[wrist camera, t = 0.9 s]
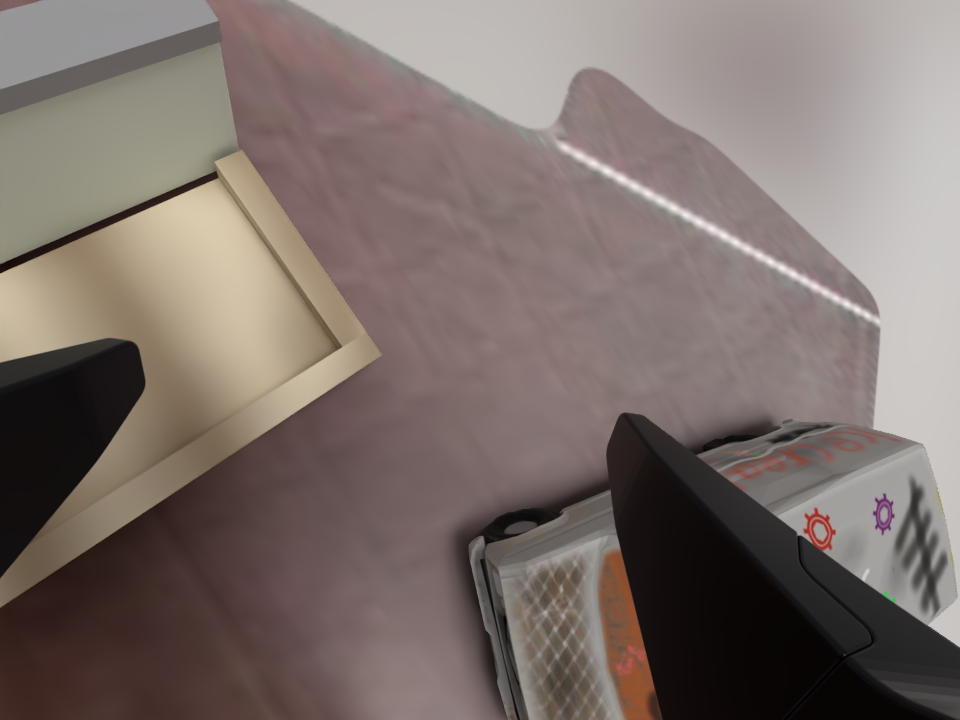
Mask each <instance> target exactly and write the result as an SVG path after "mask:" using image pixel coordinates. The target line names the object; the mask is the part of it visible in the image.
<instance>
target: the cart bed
mask: <svg viewBox="0 0 960 720" xmlns="http://www.w3.org/2000/svg"><path fill="white" fill-rule="evenodd" d="M214 164H215V167H216V170H217V174H218V177H219V178H217V179H215V180H213V181H211V182H208V183H206V184H204V185H201V186H199V187H197V188H195V189H192V190H190V191H188V192H185V193H183V194H181V195H179V196H176V197H174V198H172V199H169V200H167V201H165V202H163V203H160V204H158V205H156V206H153V207H151V208H149V209H147V210H144V211H142V212H140V213H137V214H135V215H133V216H131V217H128V218H126V219H124V220H121V221H119V222H117V223H115V224H112V225H110V226H108V227H105V228H103V229H101V230H99V231H96V232H94V233H92V234H89V235H87V236H85V237H83V238H80V239H78V240H76V241H73V242H71V243H69V244H67V245H64V246H62V247H60V248H57V249H55V250H53V251H51V252H48V253H46V254H44V255H41V256H39V257H37V258H35V259H32V260H30V261H28V262H25V263H23V264H21V265H19V266H16V267H14V268H12V269H9V270H7V271H5V272H3V273H0V362H4V361H9V360H13V359H17V358H22V357H26V356H30V355H35V354H39V353H43V352H48V351H52V350H56V349H61V348H65V347H70V346H74V345H78V344H83V343H87V342H91V341H96V340H100V339H104V338H117V339H124V340H130V341H133V342H135V343H136V344H137V345H138V347H139V350H140V355H141V359H142V364H143V369H144V374H145V379H146V385H145V389H144V392H143V394H142V395H141V397H140V398H139V400H138V401H137V403H136V404H135V406H134V407H133V409H132V410H131V412H130V414H129V415H128V417H127V418H126V420H125V421H124V423H123V424H122V426H121V427H120V429H119V430H118V432H117V433H116V435H115V436H114V438H113V439H112V441H111V442H110V444H109V445H108V447H107V448H106V450H105V451H104V452H103V454H102V455H101V457H100V458H99V460H98V461H97V462H96V463H95V465H94V466H93V467H92V469H91V470H90V471H89V472H88V474H87V475H86V476H85V477H84V478H83V480H82V481H81V482H80V483H79V484H78V486H77V487H76V488H75V489H74V490H73V492H72V493H71V494H70V495H69V496H68V498H67V499H66V500H65V501H64V502H63V504H62V505H61V506H60V507H59V509H58V510H57V511H56V512H55V513H54V515H53V516H52V517H51V518H50V519H49V521H48V522H47V523H46V524H45V525H44V527H43V528H42V529H41V530H40V531H39V533H38V534H37V535H36V536H35V537H34V539H33V540H32V541H31V542H30V543H29V545H28V546H27V547H26V548H25V549H24V551H23V552H22V553H21V554H20V556H19V557H18V558H17V559H16V560H15V562H14V563H13V564H12V565H11V566H10V568H9V569H8V570H7V571H6V572H5V574H4V575H3V576H2V577H1V578H0V607H2V606H3V605H5V604H6V603H8V602H9V601H11V600H12V599H14V598H15V597H17V596H18V595H20V594H21V593H23V592H24V591H26V590H27V589H29V588H31V587H32V586H34V585H35V584H37V583H38V582H40V581H41V580H43V579H44V578H46V577H47V576H49V575H50V574H52V573H53V572H55V571H56V570H58V569H59V568H61V567H62V566H64V565H65V564H67V563H68V562H70V561H71V560H73V559H74V558H76V557H77V556H79V555H80V554H82V553H83V552H85V551H86V550H88V549H90V548H91V547H93V546H94V545H96V544H97V543H99V542H100V541H102V540H103V539H105V538H106V537H108V536H109V535H111V534H112V533H114V532H115V531H117V530H118V529H120V528H121V527H123V526H124V525H126V524H127V523H129V522H130V521H132V520H133V519H135V518H136V517H138V516H139V515H141V514H142V513H144V512H145V511H147V510H149V509H150V508H152V507H153V506H155V505H156V504H158V503H159V502H161V501H162V500H164V499H165V498H167V497H168V496H170V495H171V494H173V493H174V492H176V491H177V490H179V489H180V488H182V487H183V486H185V485H186V484H188V483H189V482H191V481H192V480H194V479H195V478H197V477H198V476H200V475H201V474H203V473H204V472H206V471H207V470H209V469H211V468H212V467H214V466H215V465H217V464H218V463H220V462H221V461H223V460H224V459H226V458H227V457H229V456H230V455H232V454H233V453H235V452H236V451H238V450H239V449H241V448H242V447H244V446H245V445H247V444H248V443H250V442H251V441H253V440H254V439H256V438H257V437H259V436H260V435H262V434H263V433H265V432H266V431H268V430H270V429H271V428H273V427H274V426H276V425H277V424H279V423H280V422H282V421H283V420H285V419H286V418H288V417H289V416H291V415H292V414H294V413H295V412H297V411H298V410H300V409H301V408H303V407H304V406H306V405H307V404H309V403H310V402H312V401H313V400H315V399H316V398H318V397H319V396H321V395H322V394H324V393H325V392H327V391H329V390H330V389H332V388H333V387H335V386H336V385H338V384H339V383H341V382H342V381H344V380H345V379H347V378H348V377H350V376H351V375H353V374H354V373H356V372H357V371H359V370H360V369H362V368H363V367H365V366H366V365H368V364H369V363H371V362H372V361H374V360H375V359H377V358H378V357H380V356H381V355H382V354H381V353H380V351H379V350H378V348H377V347H376V346H375V344H374V343H373V341H372V340H371V338H370V337H369V335H368V334H367V332H366V331H365V329H364V328H363V326H362V325H361V324H360V322H359V321H358V319H357V318H356V316H355V315H354V313H353V312H352V310H351V309H350V307H349V306H348V304H347V303H346V301H345V300H344V299H343V297H342V296H341V294H340V293H339V291H338V290H337V288H336V287H335V285H334V284H333V282H332V281H331V279H330V278H329V277H328V275H327V274H326V272H325V271H324V269H323V268H322V266H321V265H320V263H319V262H318V260H317V259H316V257H315V256H314V254H313V253H312V252H311V250H310V249H309V247H308V246H307V244H306V243H305V241H304V240H303V238H302V237H301V235H300V234H299V232H298V231H297V230H296V228H295V227H294V225H293V224H292V222H291V221H290V219H289V218H288V216H287V215H286V213H285V212H284V210H283V209H282V207H281V206H280V205H279V203H278V202H277V200H276V199H275V197H274V196H273V194H272V193H271V191H270V190H269V188H268V187H267V185H266V184H265V183H264V181H263V180H262V178H261V177H260V175H259V174H258V172H257V171H256V169H255V168H254V166H253V165H252V163H251V162H250V160H249V159H248V158H247V156H246V155H245V153H244V152H243V150H240V151H238V152H236V153H233V154H231V155H228V156H226V157H224V158H221V159H219V160H217V161H214Z"/></svg>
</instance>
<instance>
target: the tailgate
mask: <svg viewBox="0 0 960 720" xmlns="http://www.w3.org/2000/svg"><path fill="white" fill-rule="evenodd" d="M219 42H222V36H221V31H220V25H219V20H218V19H217V17H216V16H215V14H214V13H213V11H212V10H211V8H210V7H209V5H208V4H207V2H206V1H205V0H43V1H39V2H35V3H31V4H28V5H24V6H20V7H16V8H12V9H9V10H5V11H1V12H0V264H1V263H4V262H6V261H8V260H11V259H13V258H15V257H18V256H20V255H22V254H24V253H27V252H29V251H31V250H34V249H36V248H38V247H41V246H43V245H45V244H48V243H50V242H52V241H55V240H57V239H59V238H62V237H64V236H66V235H69V234H71V233H73V232H76V231H78V230H80V229H82V228H85V227H87V226H89V225H92V224H94V223H96V222H99V221H101V220H103V219H106V218H108V217H110V216H113V215H115V214H117V213H120V212H122V211H124V210H127V209H129V208H131V207H134V206H136V205H138V204H140V203H143V202H145V201H147V200H150V199H152V198H154V197H157V196H159V195H161V194H164V193H166V192H168V191H171V190H173V189H175V188H178V187H180V186H182V185H185V184H187V183H189V182H192V181H194V180H196V179H198V178H201V177H203V176H205V175H208V174H210V173H212V172H215V171H217V170H216V167H215V164H214V161H217V160H219V159H221V158H224V157H226V156H228V155H231V154H233V153H236V152H238V151H239V148H238V142H237V137H236V131H235V126H234V120H233V115H232V109H231V104H230V98H229V93H228V87H227V82H226V76H225V71H224V65H223V59H222V54H221V48H220V43H219Z"/></svg>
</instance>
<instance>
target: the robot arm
mask: <svg viewBox="0 0 960 720" xmlns="http://www.w3.org/2000/svg"><path fill="white" fill-rule="evenodd" d="M145 385H146V379H145V374H144V369H143V364H142V359H141V355H140V350H139V347H138V345H137V344H136V343H135V342H133V341H130V340H124V339H117V338H104V339H100V340H96V341H91V342H87V343H83V344H78V345H74V346H70V347H65V348H61V349H56V350H52V351H48V352H43V353H39V354H35V355H30V356H26V357H22V358H17V359H13V360H9V361H4V362H0V578H1V577H2V576H3V575H4V574H5V572H6V571H7V570H8V569H9V568H10V566H11V565H12V564H13V563H14V562H15V560H16V559H17V558H18V557H19V556H20V554H21V553H22V552H23V551H24V549H25V548H26V547H27V546H28V545H29V543H30V542H31V541H32V540H33V539H34V537H35V536H36V535H37V534H38V533H39V531H40V530H41V529H42V528H43V527H44V525H45V524H46V523H47V522H48V521H49V519H50V518H51V517H52V516H53V515H54V513H55V512H56V511H57V510H58V509H59V507H60V506H61V505H62V504H63V502H64V501H65V500H66V499H67V498H68V496H69V495H70V494H71V493H72V492H73V490H74V489H75V488H76V487H77V486H78V484H79V483H80V482H81V481H82V480H83V478H84V477H85V476H86V475H87V474H88V472H89V471H90V470H91V469H92V467H93V466H94V465H95V463H96V462H97V461H98V460H99V458H100V457H101V455H102V454H103V452H104V451H105V450H106V448H107V447H108V445H109V444H110V442H111V441H112V439H113V438H114V436H115V435H116V433H117V432H118V430H119V429H120V427H121V426H122V424H123V423H124V421H125V420H126V418H127V417H128V415H129V414H130V412H131V410H132V409H133V407H134V406H135V404H136V403H137V401H138V400H139V398H140V397H141V395H142V394H143V392H144V389H145ZM606 458H607V466H608V475H609V483H610V491H611V499H612V507H613V515H614V522H615V528H616V533H617V537H618V541H619V545H620V550H621V554H622V558H623V562H624V566H625V570H626V574H627V578H628V582H629V586H630V590H631V595H632V599H633V603H634V607H635V611H636V615H637V619H638V623H639V627H640V631H641V635H642V640H643V644H644V648H645V652H646V656H647V660H648V664H649V668H650V672H651V676H652V680H653V684H654V689H655V693H656V697H657V701H658V705H659V709H660V713H661V717H662V720H960V647H958V646H957V645H955V644H954V643H952V642H951V641H950V640H948V639H947V638H945V637H944V636H942V635H941V634H939V633H938V632H936V631H935V630H933V629H932V628H931V627H929V626H928V625H926V624H925V623H923V622H922V621H920V620H919V619H917V618H916V617H914V616H913V615H912V614H910V613H909V612H907V611H906V610H904V609H903V608H901V607H900V606H898V605H897V604H896V603H894V602H893V601H891V600H890V599H888V598H887V597H885V596H884V595H883V594H881V593H880V592H878V591H877V590H875V589H874V588H873V587H871V586H870V585H868V584H867V583H865V582H864V581H863V580H861V579H860V578H858V577H857V576H855V575H854V574H853V573H851V572H850V571H849V570H847V569H846V568H845V567H843V566H842V565H841V564H839V563H838V562H836V561H835V560H834V559H832V558H831V557H830V556H828V555H827V554H826V553H824V552H823V551H822V550H820V549H819V548H818V547H816V546H815V545H814V544H812V543H811V542H810V541H808V540H807V539H806V538H805V537H803V536H802V535H799V536H798V534H797V532H796V531H795V530H794V529H793V528H791V527H790V526H789V525H787V524H786V523H785V522H783V521H782V520H781V519H779V518H778V517H777V516H775V515H774V514H773V513H771V512H770V511H769V510H767V509H766V508H765V507H763V506H762V505H761V504H760V503H758V502H757V501H756V500H754V499H753V498H752V497H750V496H749V495H748V494H746V493H745V492H744V491H742V490H741V489H740V488H738V487H737V486H736V485H734V484H733V483H732V482H731V481H729V480H728V479H727V478H725V477H724V476H723V475H721V474H720V473H719V472H717V471H716V470H715V469H713V468H712V467H711V466H709V465H708V464H707V463H705V462H704V461H703V460H702V459H700V458H699V457H698V456H696V455H695V454H694V453H692V452H691V451H690V450H688V449H687V448H686V447H684V446H683V445H682V444H680V443H679V442H678V441H676V440H675V439H674V438H673V437H671V436H670V435H669V434H667V433H666V432H665V431H663V430H662V429H661V428H659V427H658V426H657V425H655V424H654V423H653V422H651V421H650V420H649V419H647V418H646V417H645V416H643V415H640V414H633V413H622V414H620V416H619V417H618V419H617V422H616V424H615V427H614V430H613V432H612V435H611V438H610V440H609V443H608V446H607V452H606Z"/></svg>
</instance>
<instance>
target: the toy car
mask: <svg viewBox="0 0 960 720" xmlns="http://www.w3.org/2000/svg"><path fill="white" fill-rule="evenodd" d="M696 456H698V457H699V458H700V459H702V460H703V461H704V462H705V463H707V464H708V465H709V466H711V467H712V468H713V469H715V470H716V471H717V472H719V473H720V474H721V475H723V476H724V477H725V478H727V479H728V480H729V481H731V482H732V483H733V484H734V485H736V486H737V487H738V488H740V489H741V490H742V491H744V492H745V493H746V494H748V495H749V496H750V497H752V498H753V499H754V500H756V501H757V502H758V503H760V504H761V505H762V506H763V507H765V508H766V509H767V510H769V511H770V512H771V513H773V514H774V515H775V516H777V517H778V518H779V519H781V520H782V521H783V522H785V523H786V524H787V525H789V526H790V527H791V528H793V529H794V530H795V531H796V532H797V534H798V536H799V535H802V536H803V537H805V538H806V539H807V540H808V541H810V542H811V543H812V544H814V545H815V546H816V547H818V548H819V549H820V550H822V551H823V552H824V553H826V554H827V555H828V556H830V557H831V558H832V559H834V560H835V561H836V562H838V563H839V564H841V565H842V566H843V567H845V568H846V569H847V570H849V571H850V572H851V573H853V574H854V575H855V576H857V577H858V578H860V579H861V580H863V581H864V582H865V583H867V584H868V585H870V586H871V587H873V588H874V589H875V590H877V591H878V592H880V593H881V594H883V595H884V596H885V597H887V598H888V599H890V600H891V601H893V602H894V603H896V604H897V605H898V606H900V607H901V608H903V609H904V610H906V611H907V612H909V613H910V614H912V615H913V616H914V617H916V618H917V619H919V620H920V621H922V622H923V623H925V624H926V625H928V624H929V623H931V622H932V621H933V620H934V619H935V618H936V617H938V616H939V615H940V614H941V613H942V612H943V611H944V610H945V609H946V608H948V607H949V606H950V605H951V604H952V603H953V602H954V601H955V600H956V598H957V597H958V594H957V587H956V579H955V571H954V563H953V558H952V552H951V546H950V541H949V535H948V529H947V524H946V520H945V515H944V512H943V508H942V504H941V500H940V496H939V492H938V488H937V484H936V481H935V478H934V474H933V471H932V468H931V465H930V462H929V458H928V455H927V452H926V449H925V447H924V446H923V444H921V443H917V442H915V441H912V440H909V439H906V438H903V437H899V436H896V435H893V434H889V433H885V432H881V431H877V430H873V429H869V428H866V427H861V426H857V425H851V424H843V423H835V422H820V423H811V422H800V421H799V420H798V419H796V418H795V419H790V420H785V421H783V423H782V425H779V426H776V427H774V428H771V429H769V430H767V435H764V436H755V435H738V436H735V435H731V436H728V437H726V438H724V439H715V440H713V441H711V442H709V443H707V444H705V445H704V452H703V453H700V454H697V455H696ZM559 515H560V517H557V516H556V515H555V514H554V513H553V512H551V511H548V510H543V509H522V510H520V511H516V512H511V513H506V514H504V515H501V516H499V517H497V518H496V519H495V520H494V521H493V522H492V523H491V524H490V525H488V526H487V527H486V528H485V529H484V531H483V535H482V536H478V537H477V538H475V539H474V540H472V542H471V543H470V545H469V559H470V563H471V567H472V571H473V576H474V580H475V585H476V589H477V594H478V598H479V603H480V608H481V612H482V617H483V621H484V626H485V630H486V631H487V632H488V633H489V635H490V640H491V644H492V648H493V653H494V657H495V667H496V672H497V676H498V679H497V683H498V687H499V690H500V694H501V697H502V701H503V704H504V708H505V711H506V715H507V718H508V720H662V717H661V713H660V709H659V705H658V701H657V697H656V693H655V689H654V684H653V680H652V676H651V672H650V668H649V664H648V660H647V656H646V652H645V648H644V644H643V640H642V635H641V631H640V627H639V623H638V619H637V615H636V611H635V607H634V603H633V599H632V595H631V590H630V586H629V582H628V578H627V574H626V570H625V566H624V562H623V558H622V554H621V550H620V545H619V541H618V537H617V533H616V528H615V522H614V515H613V507H612V499H611V491H610V490H607V491H605V492H603V493H600V494H598V495H595V496H593V497H590V498H588V499H586V500H583V501H581V502H578V503H576V504H573V505H571V506H569V507H566V508H564V509H562V511H561V512H560V513H559Z"/></svg>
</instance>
